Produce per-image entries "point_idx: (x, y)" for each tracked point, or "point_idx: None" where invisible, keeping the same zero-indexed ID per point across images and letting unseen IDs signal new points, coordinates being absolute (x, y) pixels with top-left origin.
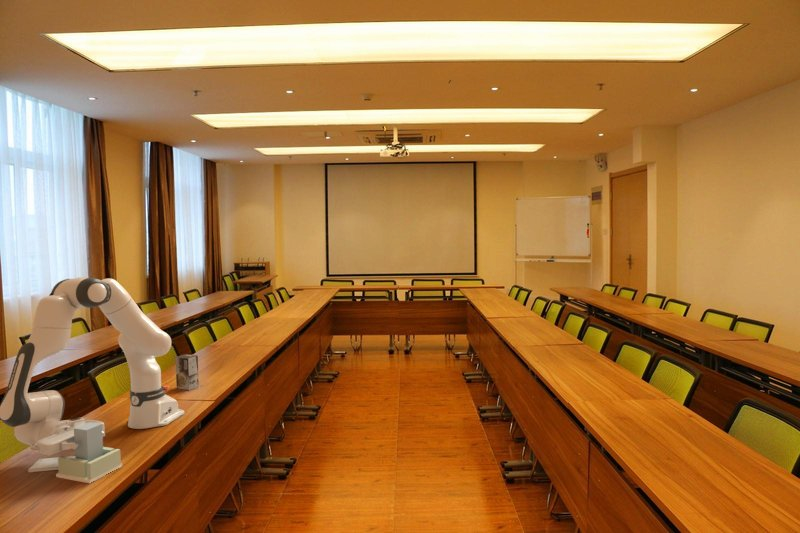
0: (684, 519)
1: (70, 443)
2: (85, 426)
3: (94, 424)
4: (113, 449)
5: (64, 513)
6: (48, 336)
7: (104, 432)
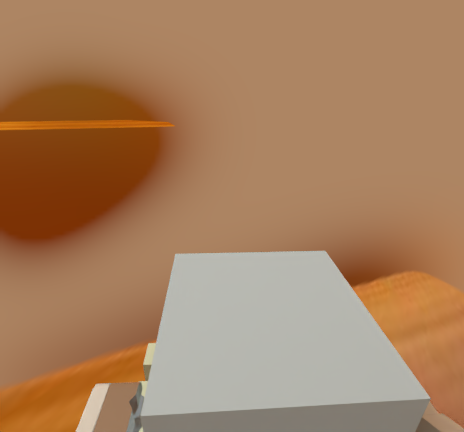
0: (170, 126)
1: (436, 412)
2: (286, 318)
3: (202, 290)
4: (145, 384)
5: (428, 308)
6: None
7: (104, 383)
